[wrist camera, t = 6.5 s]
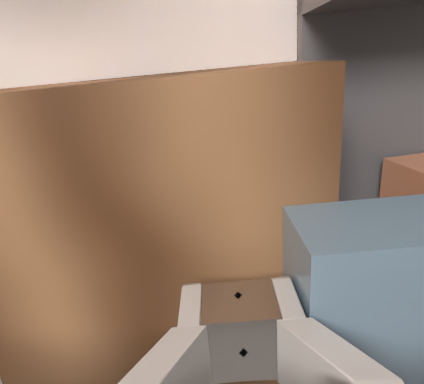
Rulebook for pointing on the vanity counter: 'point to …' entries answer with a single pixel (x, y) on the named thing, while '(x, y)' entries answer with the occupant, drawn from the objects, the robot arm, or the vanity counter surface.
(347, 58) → the tray
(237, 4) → the vanity counter surface
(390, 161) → the tile
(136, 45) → the vanity counter surface
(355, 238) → the tile
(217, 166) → the cardboard box
